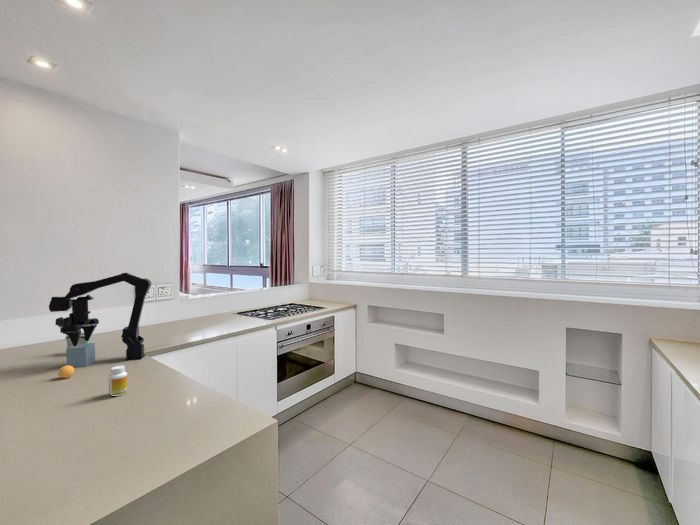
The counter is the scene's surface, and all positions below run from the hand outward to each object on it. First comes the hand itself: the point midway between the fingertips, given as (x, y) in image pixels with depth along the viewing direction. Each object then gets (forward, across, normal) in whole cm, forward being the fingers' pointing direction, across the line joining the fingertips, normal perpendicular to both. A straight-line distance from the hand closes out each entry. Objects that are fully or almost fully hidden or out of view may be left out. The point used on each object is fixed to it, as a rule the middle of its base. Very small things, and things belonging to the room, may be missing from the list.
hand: (81, 343), depth 146 cm
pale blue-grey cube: (+10, 0, 0) cm, 10 cm away
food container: (+10, -22, -11) cm, 27 cm away
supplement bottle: (+10, +42, +33) cm, 54 cm away
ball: (+7, +18, +4) cm, 20 cm away
